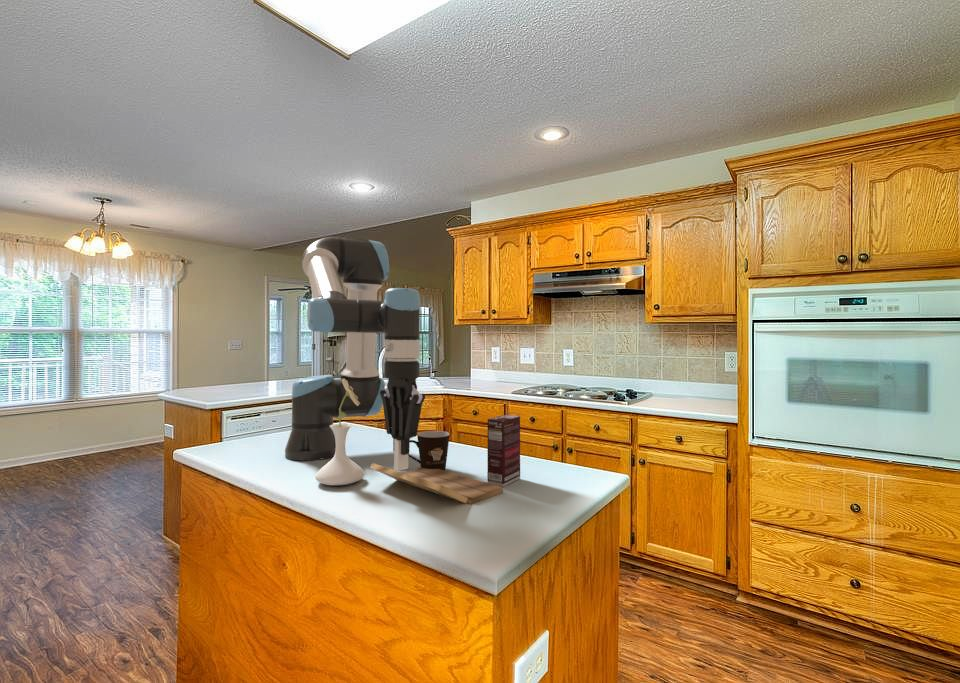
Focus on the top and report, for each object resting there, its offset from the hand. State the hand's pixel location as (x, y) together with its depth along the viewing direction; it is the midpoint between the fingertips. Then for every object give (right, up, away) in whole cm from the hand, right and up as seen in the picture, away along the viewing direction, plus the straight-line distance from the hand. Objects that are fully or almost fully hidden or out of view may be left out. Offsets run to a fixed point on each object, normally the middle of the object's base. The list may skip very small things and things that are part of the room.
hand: (401, 468), depth 102 cm
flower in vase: (-17, -7, +13) cm, 22 cm away
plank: (+3, -5, +3) cm, 6 cm away
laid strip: (+9, -7, +10) cm, 16 cm away
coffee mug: (+3, -7, +23) cm, 25 cm away
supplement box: (+23, -7, +14) cm, 28 cm away
